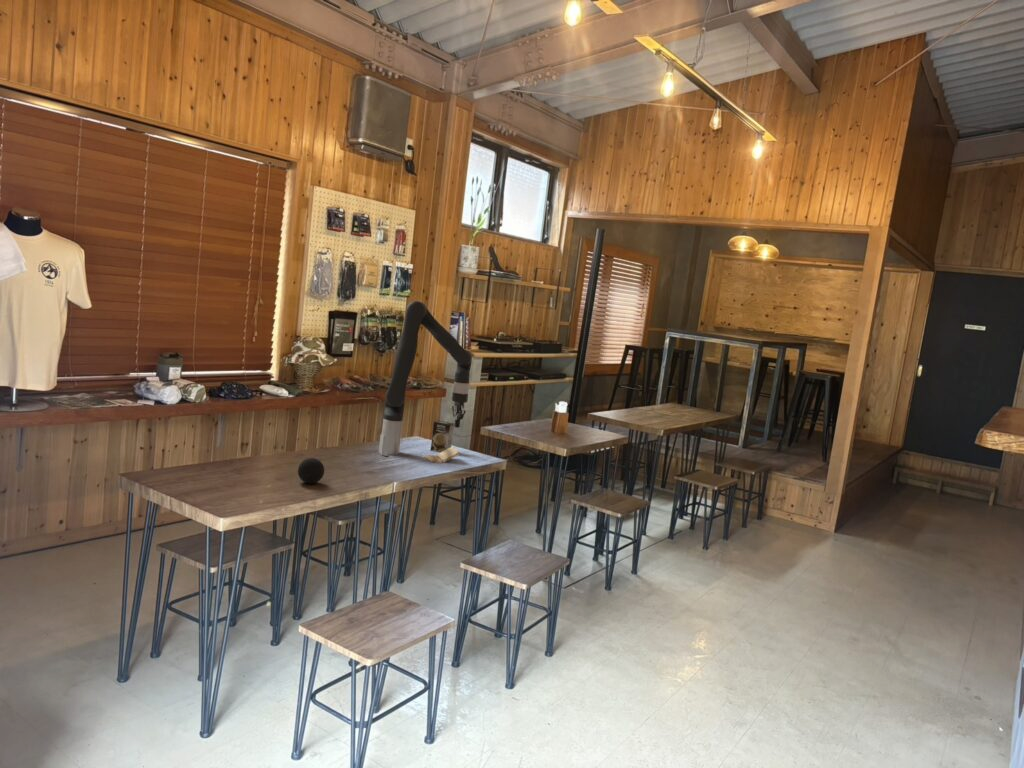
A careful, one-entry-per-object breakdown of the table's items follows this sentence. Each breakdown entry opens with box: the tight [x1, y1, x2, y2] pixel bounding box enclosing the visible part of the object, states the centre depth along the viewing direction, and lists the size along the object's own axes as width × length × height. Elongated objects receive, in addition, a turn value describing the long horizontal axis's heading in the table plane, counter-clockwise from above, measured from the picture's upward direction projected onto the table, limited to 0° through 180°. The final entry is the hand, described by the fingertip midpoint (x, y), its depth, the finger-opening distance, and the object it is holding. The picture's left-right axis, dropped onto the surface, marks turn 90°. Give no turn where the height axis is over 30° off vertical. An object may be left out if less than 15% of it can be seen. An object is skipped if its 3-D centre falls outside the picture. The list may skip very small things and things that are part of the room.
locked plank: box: [424, 454, 444, 464], centre depth 347 cm, size 6×11×1 cm, turn 24°
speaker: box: [297, 457, 325, 485], centre depth 285 cm, size 10×10×10 cm
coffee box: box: [430, 420, 455, 453], centre depth 368 cm, size 9×6×16 cm
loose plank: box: [435, 446, 461, 463], centre depth 350 cm, size 9×11×1 cm
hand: (456, 427), depth 350 cm, fingers closed
